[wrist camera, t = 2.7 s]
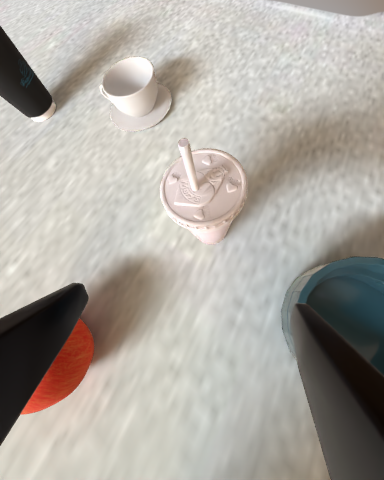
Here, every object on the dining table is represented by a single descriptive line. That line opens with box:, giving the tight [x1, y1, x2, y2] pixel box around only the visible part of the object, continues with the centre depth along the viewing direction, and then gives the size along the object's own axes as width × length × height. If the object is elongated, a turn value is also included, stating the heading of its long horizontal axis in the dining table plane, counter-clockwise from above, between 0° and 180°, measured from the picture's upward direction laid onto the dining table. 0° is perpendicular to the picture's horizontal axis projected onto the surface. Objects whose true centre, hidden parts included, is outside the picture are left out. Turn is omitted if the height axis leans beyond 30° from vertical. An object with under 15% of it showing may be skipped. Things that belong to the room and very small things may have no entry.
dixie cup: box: [0, 26, 56, 122], centre depth 29 cm, size 8×8×11 cm
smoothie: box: [160, 138, 247, 245], centre depth 16 cm, size 6×6×14 cm
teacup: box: [100, 56, 171, 132], centre depth 28 cm, size 10×10×5 cm
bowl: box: [281, 257, 384, 375], centre depth 16 cm, size 11×11×4 cm
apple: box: [21, 318, 94, 414], centre depth 18 cm, size 8×8×8 cm
